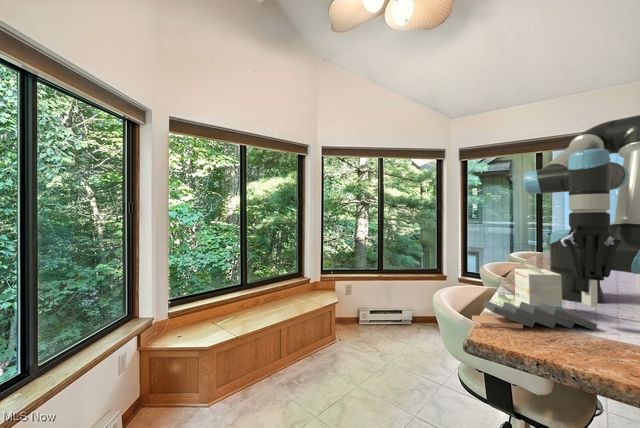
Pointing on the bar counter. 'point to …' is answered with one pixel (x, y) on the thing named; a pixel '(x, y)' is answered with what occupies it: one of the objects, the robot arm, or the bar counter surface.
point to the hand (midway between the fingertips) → (589, 304)
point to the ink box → (538, 287)
